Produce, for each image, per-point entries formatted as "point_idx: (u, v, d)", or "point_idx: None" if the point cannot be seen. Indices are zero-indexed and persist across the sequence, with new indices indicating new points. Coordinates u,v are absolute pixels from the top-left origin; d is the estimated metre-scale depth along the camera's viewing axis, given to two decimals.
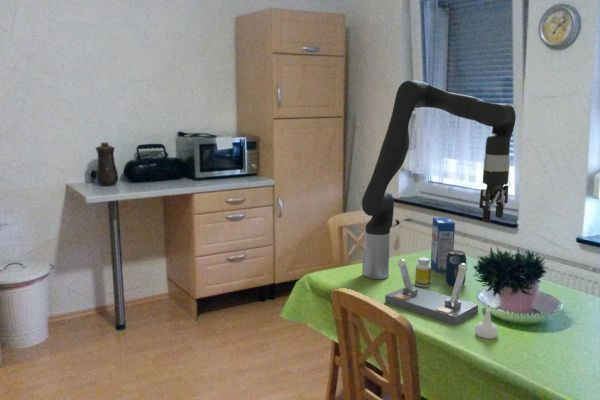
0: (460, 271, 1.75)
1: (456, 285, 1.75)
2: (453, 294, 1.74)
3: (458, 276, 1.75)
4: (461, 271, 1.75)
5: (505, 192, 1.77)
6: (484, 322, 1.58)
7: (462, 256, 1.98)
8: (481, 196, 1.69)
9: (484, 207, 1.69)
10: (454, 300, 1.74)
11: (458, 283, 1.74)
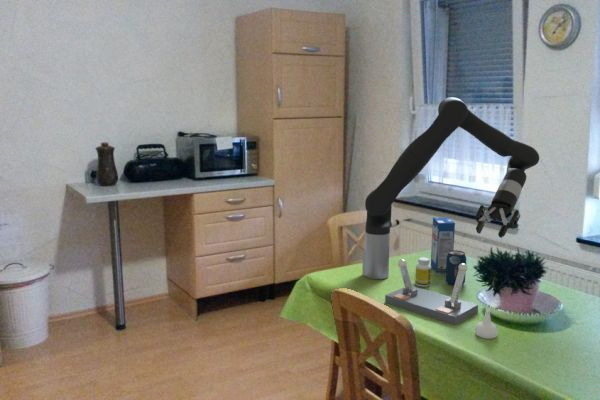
0: (460, 271, 1.75)
1: (456, 285, 1.75)
2: (453, 294, 1.74)
3: (458, 276, 1.75)
4: (461, 271, 1.75)
5: (483, 213, 1.93)
6: (484, 322, 1.58)
7: (462, 256, 1.98)
8: (516, 216, 1.83)
9: (513, 226, 1.83)
10: (454, 300, 1.74)
11: (458, 283, 1.74)
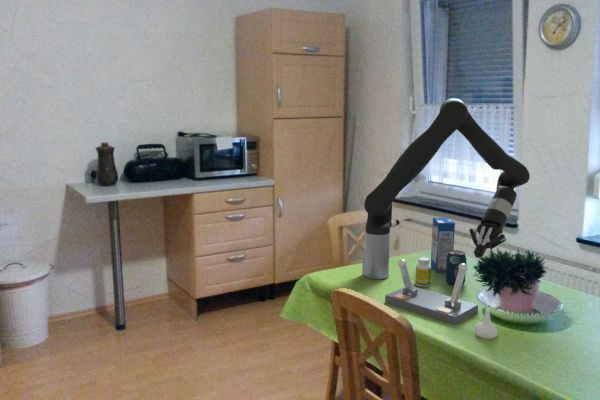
0: (460, 271, 1.75)
1: (456, 285, 1.75)
2: (453, 294, 1.74)
3: (458, 276, 1.75)
4: (461, 271, 1.75)
5: (475, 236, 1.88)
6: (484, 322, 1.58)
7: (462, 256, 1.98)
8: (499, 240, 1.80)
9: (492, 246, 1.82)
10: (454, 300, 1.74)
11: (458, 283, 1.74)
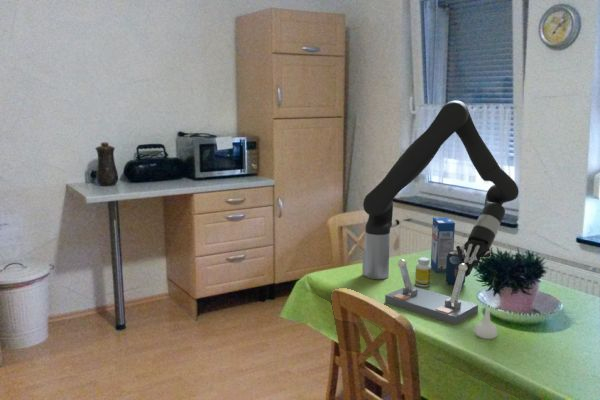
0: (460, 271, 1.75)
1: (456, 285, 1.75)
2: (453, 294, 1.74)
3: (458, 276, 1.75)
4: (461, 271, 1.75)
5: (462, 253, 1.83)
6: (483, 322, 1.58)
7: None
8: None
9: None
10: (454, 300, 1.74)
11: (458, 283, 1.74)
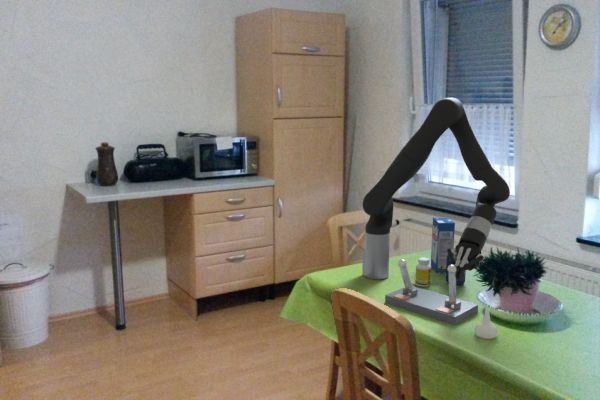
0: (450, 274, 1.71)
1: (450, 287, 1.72)
2: (450, 296, 1.73)
3: (450, 278, 1.71)
4: (451, 274, 1.71)
5: None
6: (483, 322, 1.58)
7: None
8: (477, 261, 1.71)
9: (470, 268, 1.72)
10: (453, 302, 1.73)
11: (452, 286, 1.72)
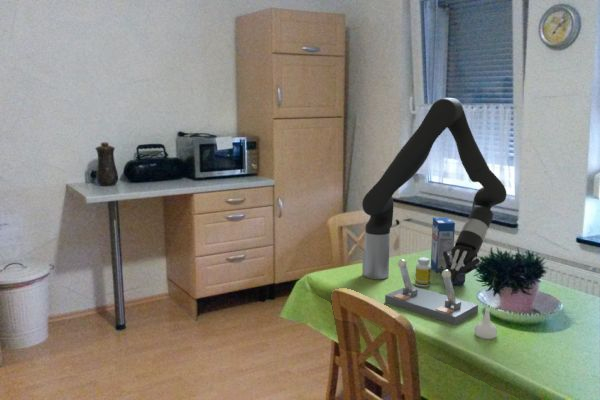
0: (445, 279, 1.69)
1: (447, 291, 1.71)
2: (449, 298, 1.73)
3: (446, 283, 1.70)
4: (446, 279, 1.69)
5: (449, 259, 1.77)
6: (483, 322, 1.58)
7: None
8: (473, 264, 1.69)
9: (466, 271, 1.71)
10: (452, 303, 1.73)
11: (448, 289, 1.70)
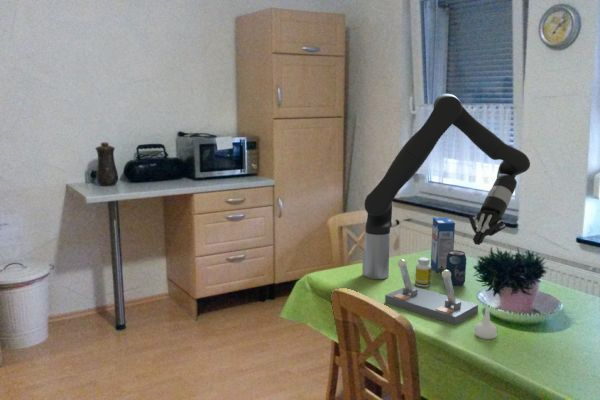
0: (445, 279, 1.69)
1: (447, 291, 1.71)
2: (449, 298, 1.73)
3: (446, 283, 1.70)
4: (446, 279, 1.69)
5: None
6: (483, 322, 1.58)
7: (462, 256, 1.98)
8: (498, 227, 1.81)
9: (491, 233, 1.82)
10: (452, 303, 1.73)
11: (448, 289, 1.70)
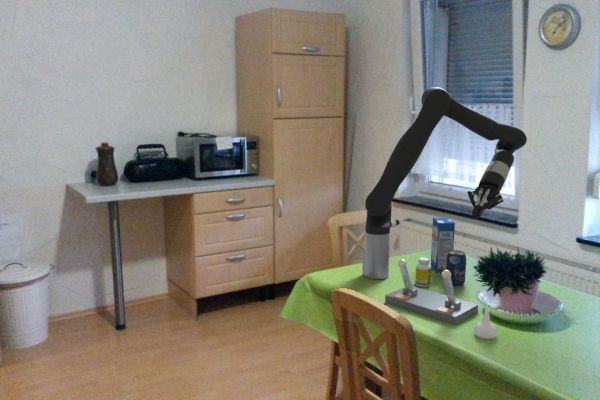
0: (445, 279, 1.69)
1: (447, 291, 1.71)
2: (449, 298, 1.73)
3: (446, 283, 1.70)
4: (446, 279, 1.69)
5: (473, 198, 1.92)
6: (483, 322, 1.58)
7: (462, 256, 1.98)
8: (496, 200, 1.84)
9: (490, 207, 1.85)
10: (452, 303, 1.73)
11: (448, 289, 1.70)
